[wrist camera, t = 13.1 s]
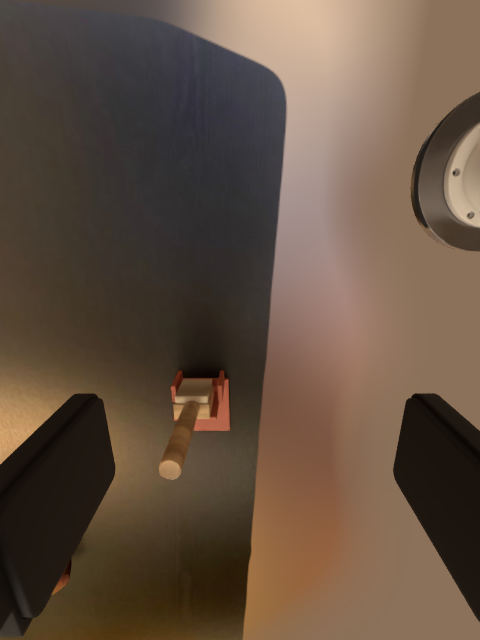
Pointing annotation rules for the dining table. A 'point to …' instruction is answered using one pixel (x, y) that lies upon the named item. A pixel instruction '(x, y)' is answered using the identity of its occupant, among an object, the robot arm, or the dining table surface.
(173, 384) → the brush stand
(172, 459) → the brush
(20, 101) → the dining table surface
